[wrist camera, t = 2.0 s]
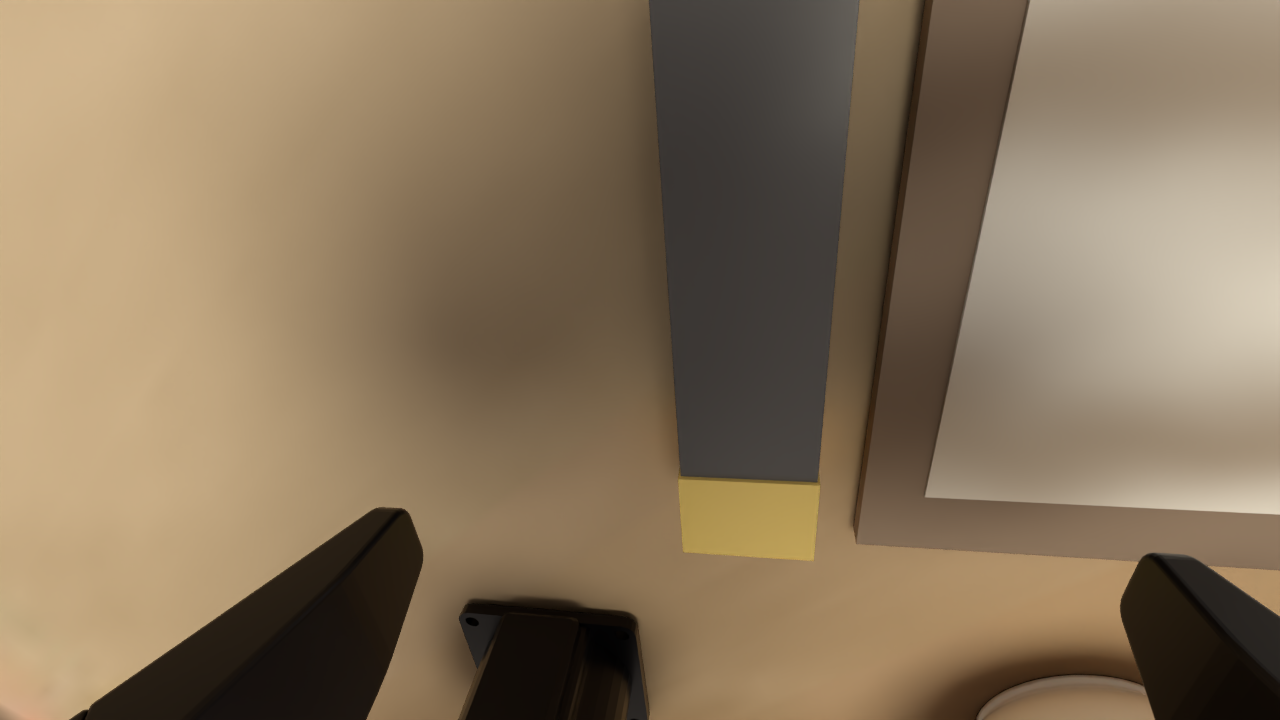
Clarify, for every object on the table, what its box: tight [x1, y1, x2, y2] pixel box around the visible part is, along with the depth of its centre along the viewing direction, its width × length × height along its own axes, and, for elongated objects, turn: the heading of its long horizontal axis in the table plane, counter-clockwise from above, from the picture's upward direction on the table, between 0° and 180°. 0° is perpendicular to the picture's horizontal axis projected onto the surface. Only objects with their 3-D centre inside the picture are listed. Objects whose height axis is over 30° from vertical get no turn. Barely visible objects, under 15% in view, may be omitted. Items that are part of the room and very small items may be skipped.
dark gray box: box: [649, 0, 859, 561], centre depth 13 cm, size 14×3×3 cm, turn 5°
